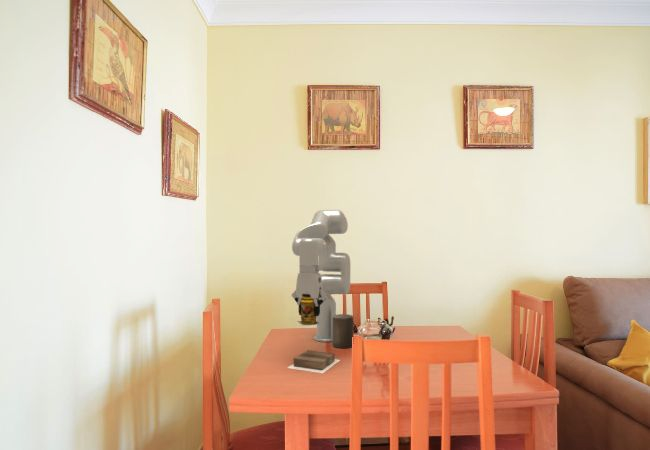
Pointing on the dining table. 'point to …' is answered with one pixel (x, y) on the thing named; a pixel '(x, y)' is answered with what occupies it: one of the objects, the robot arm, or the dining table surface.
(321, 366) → the plinth
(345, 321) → the pillar candle
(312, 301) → the condiment
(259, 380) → the dining table surface
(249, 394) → the dining table surface
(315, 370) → the base board
